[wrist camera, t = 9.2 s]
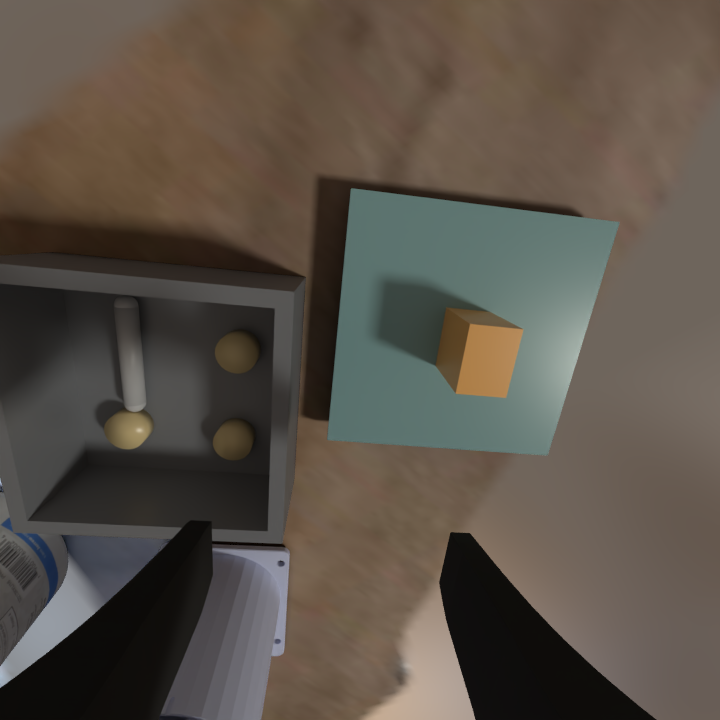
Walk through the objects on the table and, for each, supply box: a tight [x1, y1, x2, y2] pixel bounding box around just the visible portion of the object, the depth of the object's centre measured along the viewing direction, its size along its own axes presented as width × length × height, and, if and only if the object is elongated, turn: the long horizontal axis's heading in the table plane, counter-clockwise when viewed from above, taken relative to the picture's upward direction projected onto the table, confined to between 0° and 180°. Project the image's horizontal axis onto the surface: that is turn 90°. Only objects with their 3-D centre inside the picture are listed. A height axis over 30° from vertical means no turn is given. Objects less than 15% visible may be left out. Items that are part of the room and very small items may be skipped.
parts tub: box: [0, 252, 306, 544], centre depth 18 cm, size 12×12×5 cm
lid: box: [327, 188, 619, 455], centre depth 18 cm, size 12×12×5 cm
